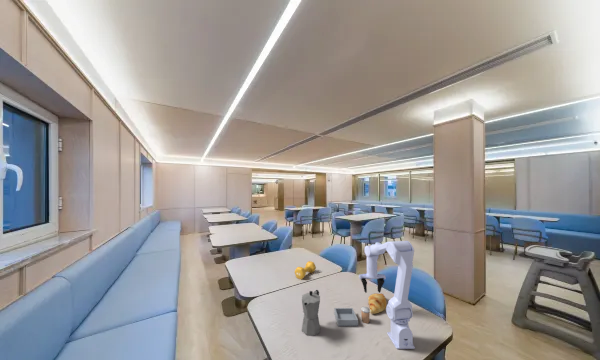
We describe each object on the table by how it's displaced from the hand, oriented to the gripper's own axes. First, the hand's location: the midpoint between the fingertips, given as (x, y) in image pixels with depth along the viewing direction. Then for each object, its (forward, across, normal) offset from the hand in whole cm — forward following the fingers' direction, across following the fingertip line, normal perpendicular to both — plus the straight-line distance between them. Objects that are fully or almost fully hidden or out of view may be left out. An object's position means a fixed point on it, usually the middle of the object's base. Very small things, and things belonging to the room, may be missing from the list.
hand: (372, 291), depth 114 cm
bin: (+10, +17, +9) cm, 21 cm away
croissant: (+10, -4, -4) cm, 12 cm away
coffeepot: (+10, +35, +15) cm, 39 cm away
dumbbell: (+10, +36, -45) cm, 59 cm away
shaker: (+10, +7, +10) cm, 15 cm away
